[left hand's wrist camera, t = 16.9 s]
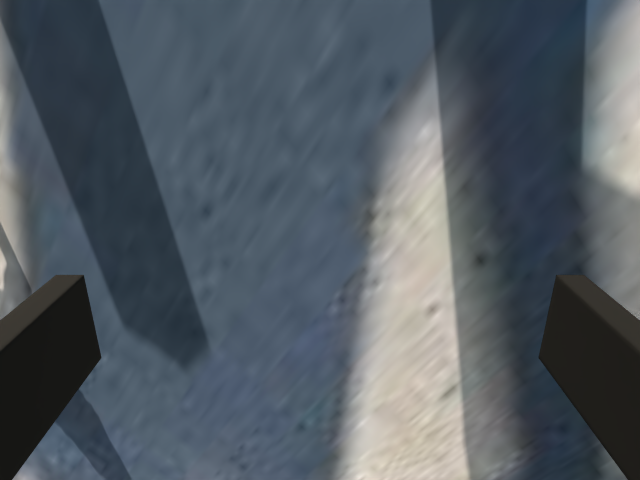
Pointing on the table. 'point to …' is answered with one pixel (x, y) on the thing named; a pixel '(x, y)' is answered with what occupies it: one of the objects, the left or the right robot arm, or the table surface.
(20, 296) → the table surface
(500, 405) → the table surface
